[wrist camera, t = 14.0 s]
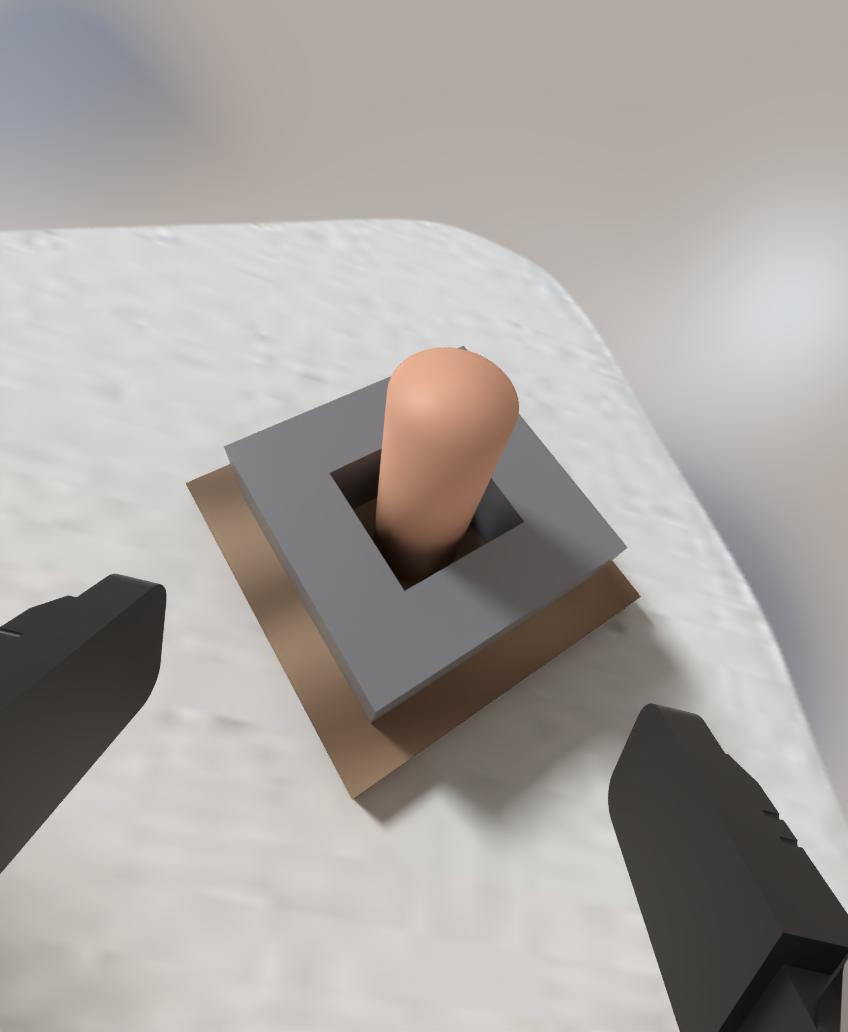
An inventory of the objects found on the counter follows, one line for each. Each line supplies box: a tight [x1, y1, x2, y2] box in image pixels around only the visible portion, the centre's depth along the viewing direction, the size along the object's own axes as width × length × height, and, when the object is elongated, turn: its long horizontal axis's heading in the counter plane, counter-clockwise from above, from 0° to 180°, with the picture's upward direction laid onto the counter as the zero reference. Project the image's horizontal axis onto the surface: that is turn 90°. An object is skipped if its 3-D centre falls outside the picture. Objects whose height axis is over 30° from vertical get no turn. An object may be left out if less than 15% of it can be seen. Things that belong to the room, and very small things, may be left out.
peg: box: [374, 348, 519, 582], centre depth 21 cm, size 4×4×11 cm
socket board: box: [186, 464, 641, 799], centre depth 27 cm, size 16×16×2 cm
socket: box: [224, 346, 627, 723], centre depth 24 cm, size 12×12×4 cm
